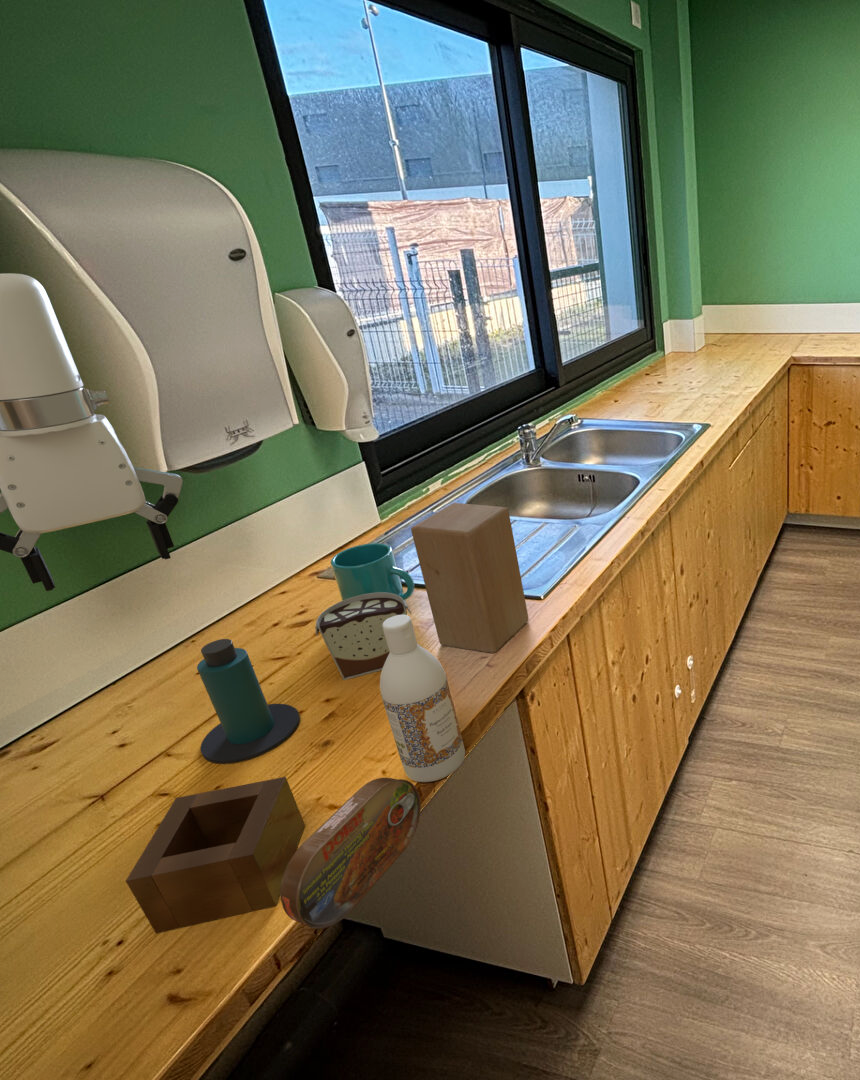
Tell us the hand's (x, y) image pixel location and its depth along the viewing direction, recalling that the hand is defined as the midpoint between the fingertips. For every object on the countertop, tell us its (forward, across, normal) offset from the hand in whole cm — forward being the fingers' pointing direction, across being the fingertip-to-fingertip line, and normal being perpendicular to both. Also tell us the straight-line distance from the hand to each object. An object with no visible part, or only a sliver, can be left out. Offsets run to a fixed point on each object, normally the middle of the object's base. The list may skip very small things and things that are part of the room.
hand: (109, 570), depth 74 cm
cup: (+26, -31, -19) cm, 45 cm away
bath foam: (+26, -21, +22) cm, 40 cm away
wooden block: (+26, -39, -1) cm, 47 cm away
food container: (+27, -24, -6) cm, 37 cm away
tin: (+27, -9, +32) cm, 43 cm away
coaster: (+27, -7, -2) cm, 28 cm away
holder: (+27, 0, +22) cm, 35 cm away
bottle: (+26, -7, -2) cm, 27 cm away
